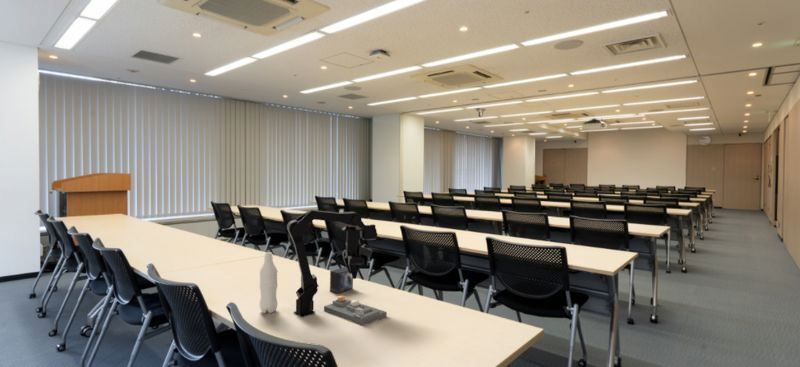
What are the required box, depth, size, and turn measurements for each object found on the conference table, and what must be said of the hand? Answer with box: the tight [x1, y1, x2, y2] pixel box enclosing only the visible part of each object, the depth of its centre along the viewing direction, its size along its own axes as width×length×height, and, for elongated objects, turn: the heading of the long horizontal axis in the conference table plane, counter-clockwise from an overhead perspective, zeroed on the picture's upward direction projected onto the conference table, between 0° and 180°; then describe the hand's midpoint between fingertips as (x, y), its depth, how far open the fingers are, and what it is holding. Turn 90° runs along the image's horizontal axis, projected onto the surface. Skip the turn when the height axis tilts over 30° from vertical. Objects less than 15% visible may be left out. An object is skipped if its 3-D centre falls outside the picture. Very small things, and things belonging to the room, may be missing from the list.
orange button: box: [336, 295, 346, 303], centre depth 174 cm, size 3×3×2 cm
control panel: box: [323, 298, 387, 326], centre depth 168 cm, size 13×24×4 cm, turn 48°
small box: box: [329, 266, 354, 294], centre depth 201 cm, size 11×6×10 cm, turn 143°
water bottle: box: [259, 251, 278, 314], centre depth 170 cm, size 7×7×25 cm
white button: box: [351, 299, 360, 307], centre depth 168 cm, size 3×3×2 cm
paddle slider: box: [355, 307, 364, 318], centre depth 159 cm, size 2×3×3 cm, turn 48°
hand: (352, 276), depth 176 cm, fingers open, 9 cm apart
